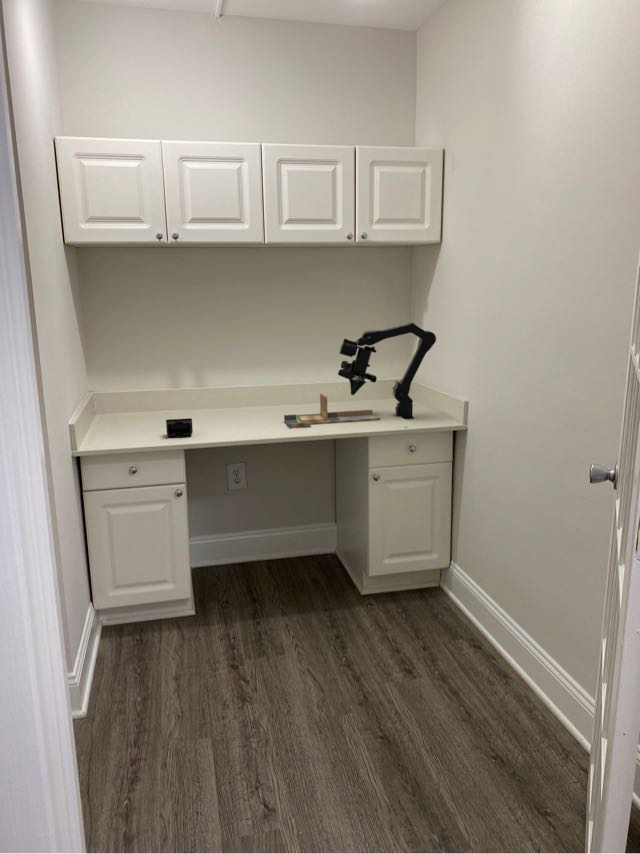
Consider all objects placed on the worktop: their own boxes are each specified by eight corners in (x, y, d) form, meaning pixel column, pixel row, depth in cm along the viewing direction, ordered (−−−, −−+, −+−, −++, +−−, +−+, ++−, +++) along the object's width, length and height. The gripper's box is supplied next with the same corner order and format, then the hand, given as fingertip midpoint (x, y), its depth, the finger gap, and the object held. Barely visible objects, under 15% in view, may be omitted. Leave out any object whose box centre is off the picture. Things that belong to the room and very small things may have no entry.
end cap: (192, 433, 267) (191, 416, 266) (192, 437, 260) (191, 420, 259) (167, 434, 266) (166, 418, 264) (166, 438, 259) (165, 422, 257)
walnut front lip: (379, 421, 281) (379, 417, 281) (380, 422, 280) (380, 418, 279) (288, 427, 273) (288, 423, 273) (289, 428, 272) (289, 424, 271)
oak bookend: (323, 418, 284) (323, 393, 282) (327, 422, 278) (327, 396, 275) (298, 420, 282) (298, 394, 279) (301, 423, 275) (301, 397, 273)
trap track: (371, 416, 292) (371, 409, 291) (379, 421, 281) (379, 414, 280) (284, 421, 284) (284, 415, 283) (288, 427, 273) (288, 420, 272)
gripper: (364, 357, 294) (354, 391, 297) (334, 352, 281) (324, 387, 284) (381, 364, 286) (371, 398, 290) (352, 359, 273) (341, 395, 277)
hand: (352, 394), depth 285 cm, fingers closed
